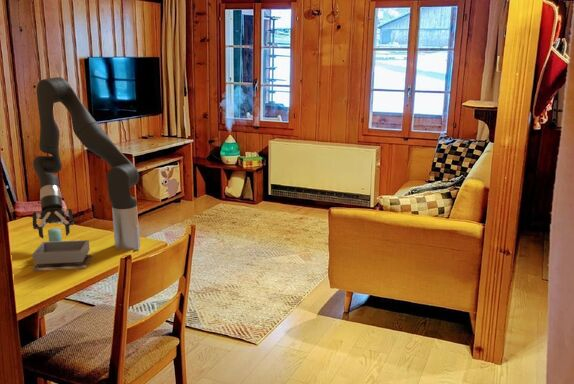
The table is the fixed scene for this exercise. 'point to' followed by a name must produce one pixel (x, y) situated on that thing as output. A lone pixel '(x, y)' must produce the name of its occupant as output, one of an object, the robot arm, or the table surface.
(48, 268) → the rail board
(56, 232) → the teal rectangular block
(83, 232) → the table surface
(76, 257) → the grey shallow tray
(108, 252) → the table surface
